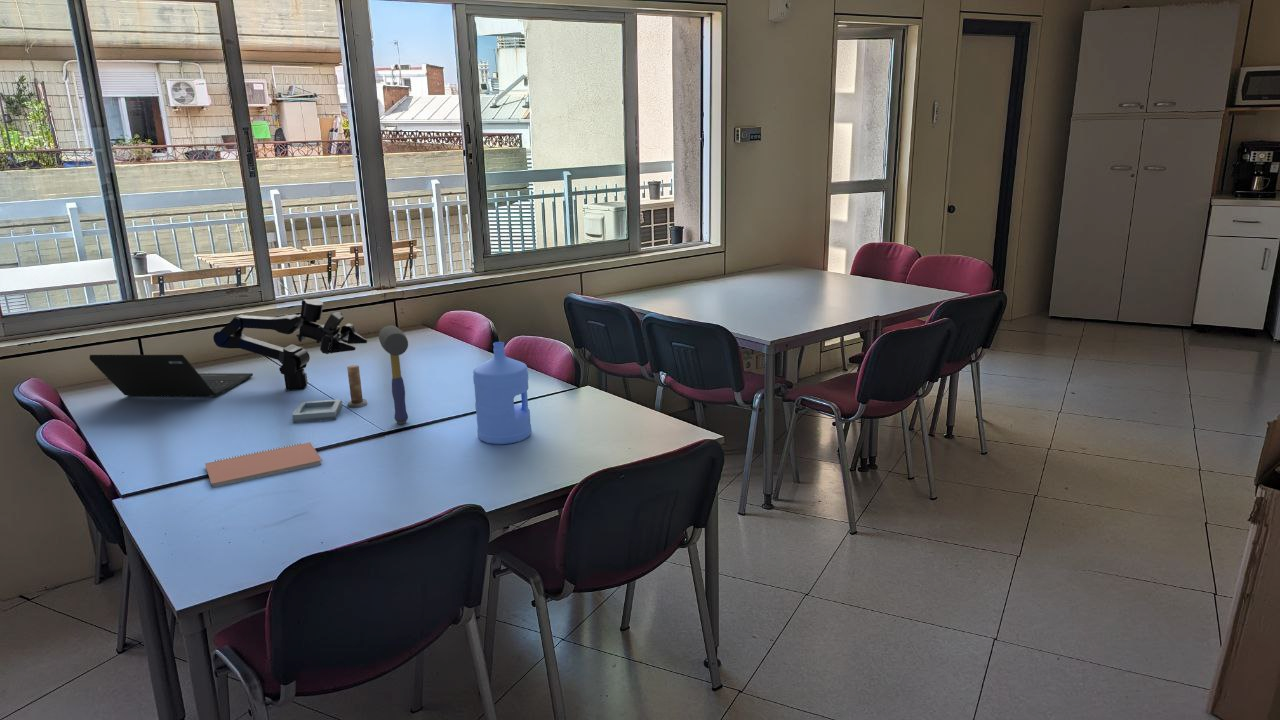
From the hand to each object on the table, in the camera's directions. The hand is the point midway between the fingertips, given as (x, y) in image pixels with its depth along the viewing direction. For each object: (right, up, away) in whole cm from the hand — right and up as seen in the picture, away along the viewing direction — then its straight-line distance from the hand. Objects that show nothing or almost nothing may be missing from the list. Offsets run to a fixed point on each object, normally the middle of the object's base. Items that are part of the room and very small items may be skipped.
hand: (361, 345), depth 287 cm
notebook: (-7, -34, -59) cm, 68 cm away
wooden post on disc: (+3, -20, -11) cm, 23 cm away
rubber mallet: (+22, -25, -29) cm, 44 cm away
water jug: (+56, -27, -41) cm, 74 cm away
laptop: (-64, -17, +5) cm, 67 cm away
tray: (-7, -22, -20) cm, 31 cm away
